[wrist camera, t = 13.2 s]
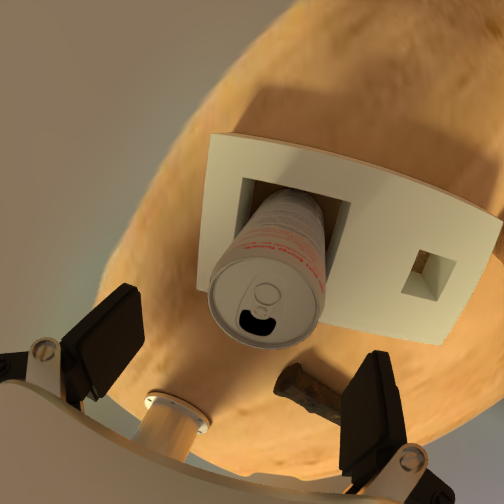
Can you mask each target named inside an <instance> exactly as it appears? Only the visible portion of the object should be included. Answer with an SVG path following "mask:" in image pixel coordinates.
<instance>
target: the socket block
mask: <svg viewBox="0 0 504 504" xmlns="http://www.w3.org/2000/svg"><path fill="white" fill-rule="evenodd" d="M255 180H260V181H265V182H270V183H274V184H279V185H283V186H288V187H292V188H296V189H301V190H305V191H309V192H313V193H317V194H321V195H325V196H329V197H332V198H336V199H340V200H342V201H341V205H340V208H339V212H338V216H337V219H336V223H335V226H334V230H333V233H332V237H331V240H330V243H329V247H328V250H327V253H326V257H325V278H326V298H325V307H324V309H323V312H322V315H321V317H320V318H319V320H318V322H320V323H325V324H329V325H334V326H338V327H343V328H347V329H352V330H357V331H361V332H366V333H371V334H376V335H382V336H387V337H392V338H397V339H403V340H409V341H414V342H420V343H426V344H433V345H439V346H441V344H442V343H443V341H444V340H445V338H446V337H447V335H448V334H449V332H450V331H451V329H452V328H453V326H454V324H455V323H456V321H457V319H458V318H459V316H460V315H461V313H462V311H463V309H464V308H465V306H466V304H467V302H468V301H469V299H470V297H471V295H472V293H473V291H474V289H475V287H476V286H477V284H478V282H479V280H480V278H481V275H482V273H483V271H484V269H485V267H486V265H487V263H488V260H489V258H490V256H491V253H492V251H493V249H494V246H495V244H496V241H497V239H498V236H499V233H500V231H501V228H502V225H503V221H502V220H500V219H499V218H497V217H496V216H494V215H492V214H491V213H489V212H488V211H486V210H485V209H483V208H481V207H480V206H478V205H476V204H474V203H472V202H470V201H468V200H466V199H464V198H461V197H459V196H457V195H455V194H452V193H450V192H448V191H445V190H443V189H441V188H438V187H436V186H433V185H431V184H428V183H426V182H423V181H421V180H418V179H415V178H413V177H410V176H407V175H404V174H402V173H399V172H396V171H393V170H390V169H387V168H384V167H381V166H378V165H375V164H371V163H368V162H365V161H362V160H358V159H355V158H351V157H348V156H344V155H340V154H337V153H333V152H329V151H325V150H321V149H317V148H312V147H308V146H304V145H299V144H294V143H290V142H285V141H280V140H274V139H269V138H263V137H258V136H252V135H245V134H239V133H211V137H210V144H209V152H208V160H207V168H206V177H205V186H204V195H203V205H202V216H201V227H200V239H199V253H198V267H197V284H196V289H197V290H200V291H203V292H207V293H208V288H209V285H210V277H211V274H212V271H213V269H214V267H215V265H216V264H217V262H218V261H219V259H220V258H221V257H222V255H223V254H224V253H225V251H226V250H227V249H228V247H229V246H230V245H231V243H232V242H233V241H234V239H235V238H236V237H237V235H238V234H239V233H240V231H241V230H242V229H243V227H244V226H245V225H246V224H247V222H248V221H249V216H250V210H251V204H252V198H253V192H254V186H255ZM419 250H423V251H426V252H429V253H430V255H429V257H428V260H427V262H426V264H425V266H424V269H423V271H422V273H421V274H420V273H417V272H413V271H411V269H412V266H413V264H414V262H415V259H416V257H417V255H418V252H419Z"/></svg>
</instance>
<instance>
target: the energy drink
mask: <svg viewBox="0 0 504 504" xmlns="http://www.w3.org/2000/svg"><path fill="white" fill-rule="evenodd" d="M325 298H326V278H325V239H324V219H323V213H322V211H321V208H320V206H319V205H318V203H317V202H316V201H315V200H314V199H313V198H312V197H311V196H310V195H308V194H307V193H305V192H302V191H300V190H295V189H284V190H279V191H277V192H274V193H273V194H271V195H270V196H268V197H267V198H266V199H265V200H264V201H263V203H262V204H261V205H260V207H259V208H258V209H257V210H256V212H255V213H254V214H253V216H252V217H251V218H250V220H249V221H248V222H247V224H246V225H245V226H244V227H243V229H242V230H241V231H240V233H239V234H238V235H237V237H236V238H235V239H234V241H233V242H232V243H231V245H230V246H229V247H228V249H227V250H226V251H225V253H224V254H223V255H222V257H221V258H220V259H219V261H218V262H217V264H216V265H215V267H214V269H213V271H212V274H211V277H210V285H209V288H208V294H207V301H208V307H209V310H210V312H211V315H212V317H213V319H214V320H215V322H216V323H217V325H218V326H219V327H220V328H221V329H222V330H223V331H224V332H225V333H226V334H227V335H229V336H230V337H231V338H233V339H235V340H236V341H238V342H240V343H242V344H244V345H247V346H250V347H253V348H257V349H265V350H279V349H284V348H288V347H291V346H294V345H296V344H298V343H300V342H301V341H303V340H305V339H306V338H307V337H308V336H309V335H310V334H311V333H312V331H313V330H314V328H315V327H316V325H317V322H318V320H319V318H320V317H321V315H322V312H323V309H324V307H325Z"/></svg>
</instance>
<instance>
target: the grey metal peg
mask: <svg viewBox="0 0 504 504" xmlns="http://www.w3.org/2000/svg"><path fill="white" fill-rule="evenodd" d="M492 253H493V254H494V255H495V256H496V257H497V258H498V259H499V260H500V261H501V262H502V263H503V264H504V224H503V225H502V228H501V231H500V233H499V236H498V239H497V241H496V244H495V246H494V249H493V251H492Z"/></svg>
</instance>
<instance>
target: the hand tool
mask: <svg viewBox="0 0 504 504" xmlns="http://www.w3.org/2000/svg"><path fill="white" fill-rule="evenodd" d="M273 393H274V394H275V395H278V396H281V397H286V398H289V399H291V400H293V401H294V402H296V403H297V404H299V405H300V406H303V407H304V408H305V409H306V410H307V411H308V412H309V413H315V414H317V415H319V416H322V417H323V418H325V419H327V420H329V421H331V422H333V423H335V424H337V425H339V426H341V397H340V396H338V395H337V394H335V393H333V392H332V391H330V390H329V389H328V388H327V387H325V386H324V385H322V384H320V383H318V382H317V381H316V380H314V379H312V378H310V377H309V376H307V375H306V374H304V373H303V372H302V370H301V365H300V364H299V363H295V364H294V365H292V366H290V367H288V368H286V369H285V370H284V371H283V372H282V373H281V374H280V375H279V377H278V379H277V381H276V384H275V387H274V390H273Z"/></svg>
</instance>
